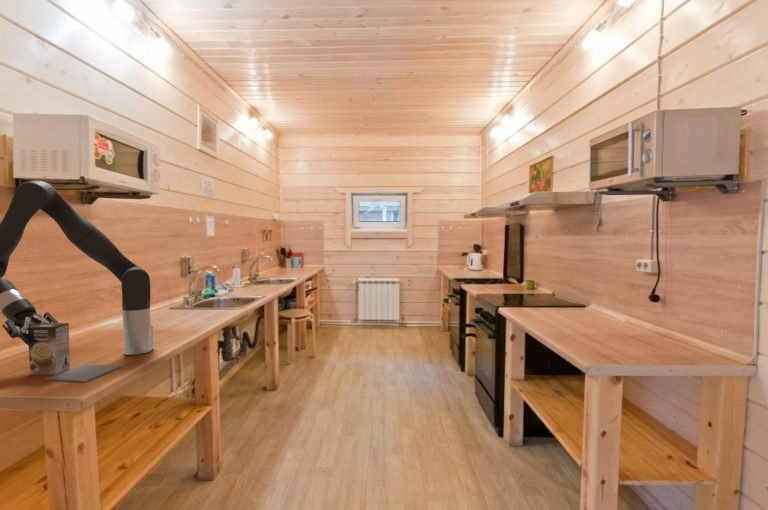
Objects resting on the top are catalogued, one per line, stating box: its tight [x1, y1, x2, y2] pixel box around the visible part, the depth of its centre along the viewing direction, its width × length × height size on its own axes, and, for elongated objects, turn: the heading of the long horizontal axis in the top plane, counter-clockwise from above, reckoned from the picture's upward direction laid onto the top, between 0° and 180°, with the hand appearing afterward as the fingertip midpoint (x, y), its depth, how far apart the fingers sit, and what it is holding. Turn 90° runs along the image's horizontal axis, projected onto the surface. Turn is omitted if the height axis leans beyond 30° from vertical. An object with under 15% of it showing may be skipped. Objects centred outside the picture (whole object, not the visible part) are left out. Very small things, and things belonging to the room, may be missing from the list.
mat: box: [46, 363, 122, 383], centre depth 130 cm, size 14×14×1 cm
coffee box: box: [27, 322, 71, 376], centre depth 132 cm, size 9×6×16 cm
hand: (45, 340), depth 132 cm, fingers open, 8 cm apart
